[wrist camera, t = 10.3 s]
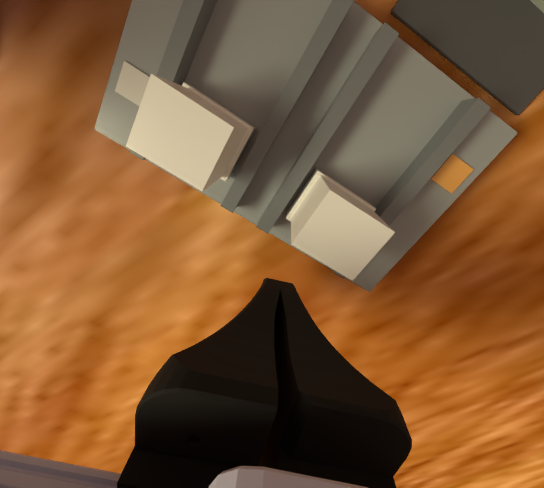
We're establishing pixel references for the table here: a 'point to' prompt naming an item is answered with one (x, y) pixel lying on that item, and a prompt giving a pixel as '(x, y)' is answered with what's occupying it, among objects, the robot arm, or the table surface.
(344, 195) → the tab
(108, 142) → the table surface
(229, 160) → the tab
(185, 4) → the switch panel
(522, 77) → the tool mat
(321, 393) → the robot arm
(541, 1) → the driver
